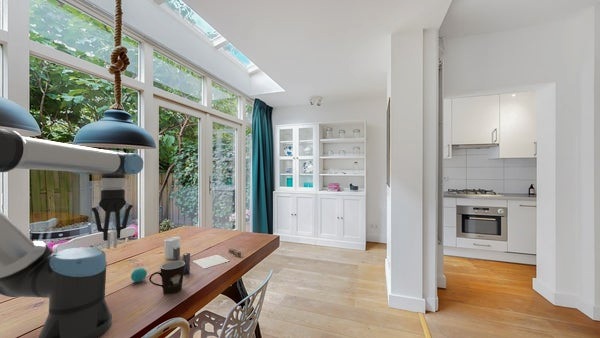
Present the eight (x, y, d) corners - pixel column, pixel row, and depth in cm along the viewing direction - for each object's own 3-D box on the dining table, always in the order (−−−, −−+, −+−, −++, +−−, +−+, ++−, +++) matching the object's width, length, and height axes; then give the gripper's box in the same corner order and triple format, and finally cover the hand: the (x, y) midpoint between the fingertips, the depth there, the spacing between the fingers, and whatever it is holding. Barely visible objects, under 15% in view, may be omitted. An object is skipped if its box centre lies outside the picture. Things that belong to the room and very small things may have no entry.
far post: (180, 266, 115) (180, 247, 115) (174, 267, 113) (174, 249, 113) (178, 264, 117) (178, 246, 117) (171, 266, 115) (172, 247, 115)
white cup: (160, 258, 125) (160, 240, 125) (171, 254, 133) (172, 236, 133) (172, 260, 123) (172, 241, 123) (183, 255, 131) (183, 237, 131)
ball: (148, 281, 98) (148, 268, 98) (132, 285, 94) (132, 272, 94) (144, 277, 102) (145, 264, 102) (129, 281, 98) (129, 268, 98)
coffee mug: (185, 283, 96) (186, 259, 97) (183, 293, 88) (183, 267, 89) (153, 288, 92) (154, 263, 92) (148, 299, 84) (148, 271, 84)
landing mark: (229, 261, 122) (229, 260, 122) (203, 268, 111) (203, 268, 111) (217, 254, 131) (217, 254, 131) (192, 261, 121) (192, 261, 121)
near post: (190, 273, 106) (191, 254, 106) (184, 275, 104) (184, 255, 104) (188, 271, 108) (188, 252, 108) (181, 273, 106) (181, 254, 106)
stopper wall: (240, 256, 129) (241, 252, 129) (237, 257, 127) (237, 252, 127) (231, 252, 136) (231, 248, 136) (228, 253, 134) (228, 248, 134)
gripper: (132, 187, 100) (131, 242, 100) (88, 189, 90) (86, 249, 89) (137, 188, 95) (135, 245, 94) (90, 190, 85) (87, 254, 84)
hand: (111, 247), depth 92 cm, fingers closed
